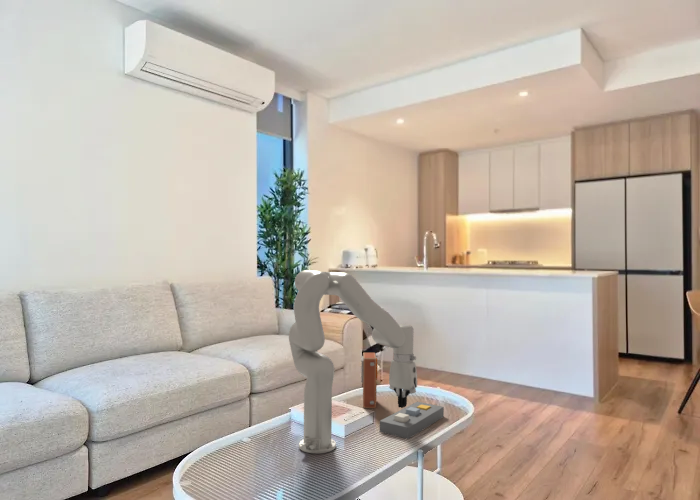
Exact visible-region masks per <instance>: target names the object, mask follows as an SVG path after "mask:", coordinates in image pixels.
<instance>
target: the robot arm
mask: <svg viewBox="0 0 700 500" xmlns="http://www.w3.org/2000/svg"><path fill="white" fill-rule="evenodd" d="M294 286H295V289H297V291H298V292H297V294H296V296H295V299H294V303H293V314H294V320H295V322H293V324H292V325H291V326H290V329H289V330H288V332H289V333H288V342H289V345H290V350H291V355H292V361H293V364H294V368H295V370H296V371H297V372H298V373H299V374H300V375H302V376H303V377H304V378H306V380H305V386H304V392H303V439H301V440H300V441H299V442H298V448H299V450H301V451H302V452H304V453H308V454H317V455H318V454H325V453H329V452H332V451H333V450H334V449H336V447H337V442H336V441H335V440H334V439H333V438H332V419H333V418H332V417H333V416H332V415H333V411H332V410H333V409H332V408H333V405H332V404H333V403H332V402H333V399H332V398H333V382H334V377H335V366H334V365H335V364H334V362H333V360H332V359H331V358H330V357H329V356H328V355H326V354H323V353H321V352H318V351H319V350H321V349H322V348H323V347H324V344H325V341H326V339H325V331H324V328H323V323H322V318H321V313H320V304H321V301H322V299H323V297H324V295H325V296H328V295H329V296H337V297H338V298H339V299H340V300H341V301H342V302H343V303H344V304H345V306H346V307H347V308H348V309H349V311H351V313H352V315H354V317H356V318H357V319H358V320H360V321H361V322H364V323H366V324H368V325H369V326H370V327H372V328H373V329H372V331H371V337H372V340H373V341H374V342H375V343H376V344H377V345H381V346H384V347H387V348H390V349H391V348H392V360H391V362H390V367H389V374H388V384H389V389H390V390H392V391H394V392H395V394H396V396H397V407H398V408H401V409H404V408H406V407H407V405H408V396H409V395H410V394H416V393H417V390H416V388H418V371H417V365H416V360H417V356H415V355H414V333H415V332H414V327H413V326H412V325H411V324H406V323H405V324H404V323H403V324H402V323H400V324H399V323H398V322H397V321H396V319H395V318H394V317H393V316H392V315H391V314H389V312H387V311H386V310H385V309H384V308H382V307H381V306H380V305H379V304H378V303H377V302H375V301H374V300H373V299H372V297H371V296H370V295H369V294H368V292H367V291H366V290H365V288H363V286H362V285H361V284H360V283H359V282H358V280H357V279H356V277H354V276H353V275H352V274H351V273H348V272H341V271H340V272H337V271H320V270H311V269H305V270H301V271H300V272H298V273H297V274H296V276H295V278H294Z"/></svg>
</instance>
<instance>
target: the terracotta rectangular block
mask: <svg viewBox="0 0 700 500" xmlns="http://www.w3.org/2000/svg"><path fill="white" fill-rule="evenodd" d="M360 361H361V375H360V378H361V381H360V382H361V383H362V408H363V409H376V407H377V392H378V391H377V387H378V386H377V383H378V382H377V381H378V358H377V357H376V352H363V353H362V356H361V360H360Z"/></svg>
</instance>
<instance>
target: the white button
mask: <svg viewBox="0 0 700 500" xmlns="http://www.w3.org/2000/svg"><path fill="white" fill-rule="evenodd" d="M394 421H398V422H402V423H405V422H407V421H409V415H407V414H403V413H398V414H397V415H395V416H394Z"/></svg>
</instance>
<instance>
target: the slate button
mask: <svg viewBox="0 0 700 500" xmlns="http://www.w3.org/2000/svg"><path fill="white" fill-rule="evenodd" d="M406 414H407V415H411V416H418V415H419V414H420V409H419V408H414V407H410V408H408V409H406Z"/></svg>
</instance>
